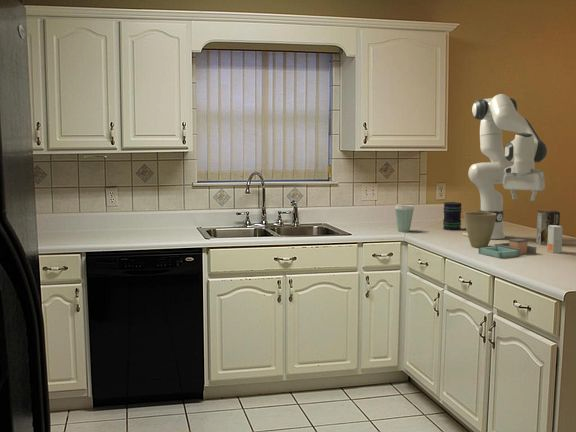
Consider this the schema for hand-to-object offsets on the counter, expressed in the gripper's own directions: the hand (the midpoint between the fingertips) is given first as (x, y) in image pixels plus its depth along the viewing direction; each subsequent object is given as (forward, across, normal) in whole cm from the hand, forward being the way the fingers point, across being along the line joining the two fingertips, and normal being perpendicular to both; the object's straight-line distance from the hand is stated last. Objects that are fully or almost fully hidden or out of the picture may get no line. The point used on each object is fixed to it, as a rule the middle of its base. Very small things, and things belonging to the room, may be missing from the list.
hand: (523, 200), depth 300 cm
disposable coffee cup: (+21, +80, -1) cm, 83 cm away
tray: (+24, +2, +14) cm, 28 cm away
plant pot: (+23, +23, +4) cm, 33 cm away
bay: (+24, +3, +2) cm, 24 cm away
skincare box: (+24, -6, -14) cm, 29 cm away
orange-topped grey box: (+24, +1, +2) cm, 24 cm away
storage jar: (+21, +72, -29) cm, 81 cm away
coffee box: (+24, +11, -32) cm, 41 cm away
